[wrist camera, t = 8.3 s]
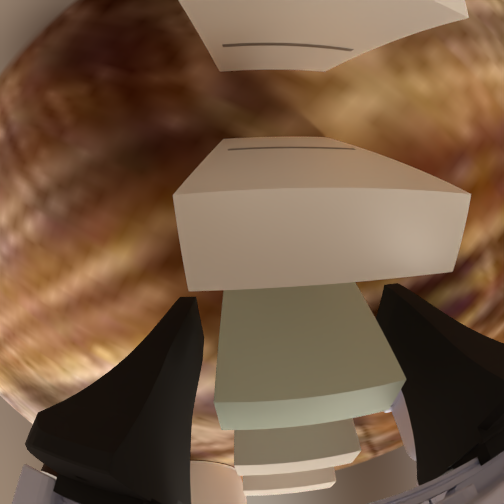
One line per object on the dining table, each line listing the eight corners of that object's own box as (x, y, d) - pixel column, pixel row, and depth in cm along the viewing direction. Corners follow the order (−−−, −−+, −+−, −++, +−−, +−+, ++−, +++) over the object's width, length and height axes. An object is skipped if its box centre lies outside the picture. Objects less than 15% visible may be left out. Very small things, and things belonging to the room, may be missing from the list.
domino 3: (321, 255, 16) (388, 410, 7) (231, 260, 16) (221, 430, 7) (322, 229, 15) (406, 378, 6) (229, 232, 15) (213, 401, 6)
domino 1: (324, 72, 11) (468, 18, 2) (219, 72, 11) (161, -24, 2) (323, 42, 10) (450, -44, 1) (218, 42, 10) (168, -85, 1)
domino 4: (314, 323, 18) (351, 462, 9) (238, 328, 18) (237, 475, 9) (316, 303, 17) (361, 450, 8) (236, 308, 17) (234, 465, 8)
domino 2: (325, 168, 13) (452, 272, 5) (225, 171, 13) (189, 292, 4) (326, 136, 13) (471, 192, 4) (223, 138, 13) (172, 193, 4)
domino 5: (307, 369, 20) (330, 487, 11) (243, 374, 20) (245, 495, 11) (309, 356, 20) (336, 480, 11) (241, 361, 19) (243, 490, 11)
